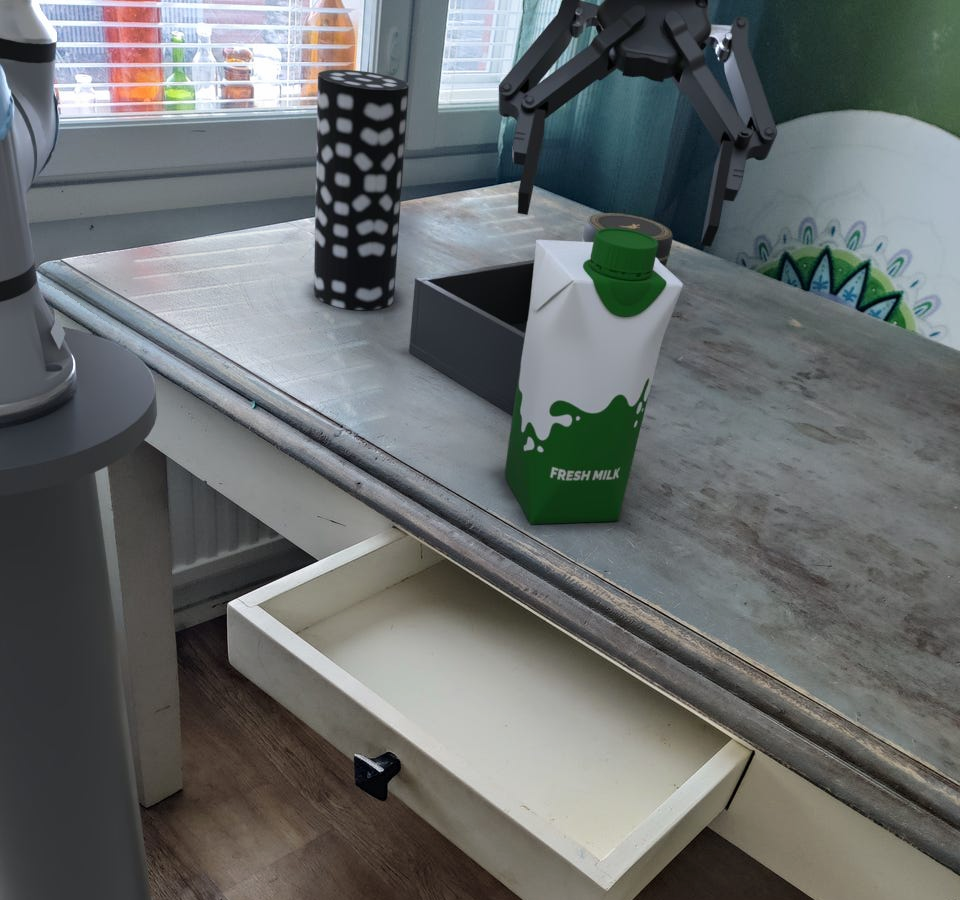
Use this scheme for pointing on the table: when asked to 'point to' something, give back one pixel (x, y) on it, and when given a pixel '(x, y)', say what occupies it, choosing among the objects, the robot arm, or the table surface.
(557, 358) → the milk carton
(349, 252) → the white-spotted black cylinder
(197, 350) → the table surface
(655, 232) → the jar
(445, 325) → the basket
